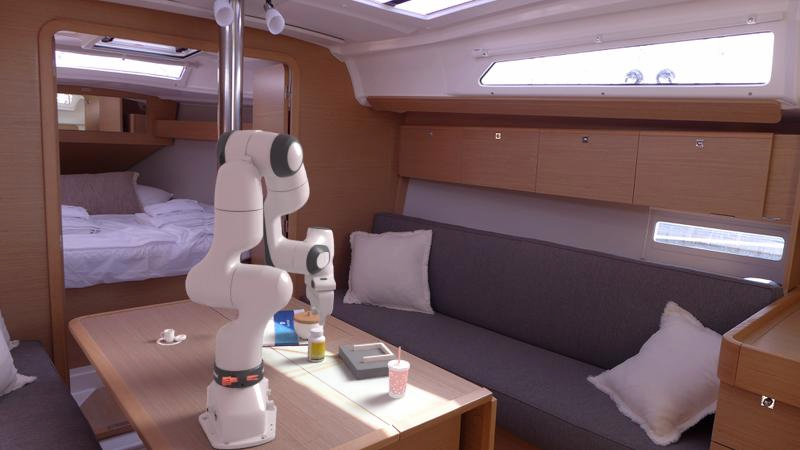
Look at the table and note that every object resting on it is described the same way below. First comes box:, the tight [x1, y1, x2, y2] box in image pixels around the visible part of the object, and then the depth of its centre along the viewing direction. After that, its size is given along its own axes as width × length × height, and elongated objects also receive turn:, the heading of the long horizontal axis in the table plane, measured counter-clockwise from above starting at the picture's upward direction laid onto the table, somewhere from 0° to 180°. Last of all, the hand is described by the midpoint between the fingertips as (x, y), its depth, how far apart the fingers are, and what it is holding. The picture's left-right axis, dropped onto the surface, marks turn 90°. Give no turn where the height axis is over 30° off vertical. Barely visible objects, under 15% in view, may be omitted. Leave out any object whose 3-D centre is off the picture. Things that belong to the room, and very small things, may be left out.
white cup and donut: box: [156, 328, 187, 346], centre depth 184 cm, size 9×8×4 cm
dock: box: [338, 341, 398, 381], centre depth 174 cm, size 20×15×4 cm
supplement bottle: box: [307, 328, 326, 363], centre depth 175 cm, size 5×5×10 cm
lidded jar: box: [293, 310, 324, 340], centre depth 194 cm, size 11×11×9 cm
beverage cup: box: [388, 346, 411, 399], centre depth 153 cm, size 6×6×14 cm
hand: (317, 319), depth 174 cm, fingers open, 8 cm apart
